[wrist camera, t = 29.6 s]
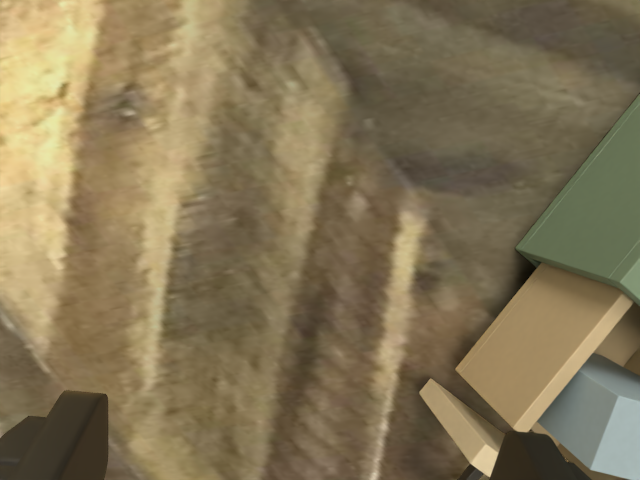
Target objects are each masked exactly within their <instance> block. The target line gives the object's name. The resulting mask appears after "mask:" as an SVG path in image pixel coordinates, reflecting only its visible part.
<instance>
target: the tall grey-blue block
mask: <svg viewBox="0 0 640 480" xmlns="http://www.w3.org/2000/svg"><path fill="white" fill-rule="evenodd" d="M537 422H538V423H539V424H540V425H541V426H542V427H543V428H544V429H546V430H547V431H548V432H549V433H550V434H551V435H552V436H553V437H554V438H555V439H557V440H558V441H559V442H560V443H561V444H562V445H563V446H564V447H565V448H567V449H568V450H569V451H570V452H571V453H572V454H573V455H574V456H575V457H577V458H578V459H579V460H580V461H581V462H582V463H583V464H584V465H585V466H587V467H588V468H589V469H590V470H593V471H597V472H601V473H605V474H609V475H613V476H617V477H621V478H625V479H629V480H640V376H639V375H637V374H635V373H633V372H631V371H630V370H628V369H626V368H624V367H622V366H620V365H619V364H617V363H615V362H613V361H611V360H609V359H608V358H606V357H604V356H602V355H598V354H595V353H592V354H591V356H590V357H589V358H588V359H587V361H586V362H585V363H584V364H583V365H582V367H581V368H580V369H579V370H578V371H577V373H576V374H575V375H574V376H573V378H572V379H571V380H570V381H569V382H568V384H567V385H566V386H565V387H564V389H563V390H562V391H561V392H560V393H559V395H558V396H557V397H556V398H555V400H554V401H553V402H552V403H551V404H550V406H549V407H548V408H547V409H546V410H545V412H544V413H543V414H542V415H541V417H540V418H539V419H538V420H537Z"/></svg>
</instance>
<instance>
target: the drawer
mask: <svg viewBox="0 0 640 480" xmlns="http://www.w3.org/2000/svg"><path fill="white" fill-rule="evenodd" d="M592 353H595V354H598V355H602V356H604V357H606V358H608V359H609V360H611V361H613V362H615V363H617V364H619V365H620V366H622V367H624V368H626V369H628V370H630V371H631V372H633V373H635V374H637V375H639V376H640V306H639V305H637V304H636V303H635V302H634V301H633V300H632V299H631V298H630V297H628V296H627V295H626V294H625V293H624V292H623V291H622V290H620V289H619V288H616V287H613V286H610V285H607V284H604V283H601V282H598V281H596V280H593V279H590V278H587V277H584V276H581V275H578V274H575V273H572V272H569V271H566V270H563V269H560V268H557V267H554V266H551V265H548V264H546V263H543V262H541V264H540V265H539V266H538V267H537V269H536V270H535V271H534V272H533V274H532V275H531V276H530V277H529V278H528V280H527V281H526V282H525V283H524V285H523V286H522V287H521V288H520V290H519V291H518V292H517V293H516V295H515V296H514V297H513V298H512V299H511V301H510V302H509V303H508V304H507V306H506V307H505V308H504V309H503V311H502V312H501V313H500V314H499V315H498V317H497V318H496V319H495V320H494V322H493V323H492V324H491V325H490V327H489V328H488V329H487V330H486V332H485V333H484V334H483V335H482V336H481V338H480V339H479V340H478V341H477V343H476V344H475V345H474V346H473V348H472V349H471V350H470V351H469V352H468V354H467V355H466V356H465V357H464V359H463V360H462V361H461V362H460V364H459V365H458V366H457V367H456V369H455V370H456V372H457V373H458V374H459V375H460V376H461V377H462V378H463V379H464V380H465V381H466V382H467V383H468V384H469V385H470V386H471V387H472V388H473V389H474V390H475V391H476V392H477V393H478V394H479V395H480V396H481V397H482V398H483V399H484V400H485V401H486V402H487V403H488V404H489V405H490V406H491V407H492V408H493V409H494V410H495V411H496V412H497V413H498V414H499V415H500V416H501V417H502V418H503V419H504V420H505V421H506V422H507V423H508V424H509V425H510V426H511V427H512V428H513V429H514V430H515V431H518V432H528V431H529V430H530V429H531V430H532V431H533V432H535V433H540V434H547V435H548V436H550V437H551V438H552V440H553V441H554V443H555V444H556V446H557V448H558V449H559V451H560V453H561V454H562V455H563V456H564V457H565V458H566V459H567V460H568V461H569V462H570V463H574V464H575V465H577V466H578V467H579V468H580V469H581V470H582V471H583V472H584V473H585V474H586V475H587V476H588V477H589V478H591V479H592V480H629V479H625V478H621V477H617V476H613V475H609V474H605V473H601V472H597V471H593V470H590V469H589V468H588V467H587V466H585V465H584V464H583V463H582V462H581V461H580V460H579V459H578V458H577V457H575V456H574V455H573V454H572V453H571V452H570V451H569V450H568V449H567V448H565V447H564V446H563V445H562V444H561V443H560V442H559V441H558V440H557V439H555V438H554V437H553V436H552V435H551V434H550V433H549V432H548V431H547V430H546V429H544V428H543V427H542V426H541V425H540V424H539V423H538V422H537V420H538V419H539V418H540V417H541V415H542V414H543V413H544V412H545V410H546V409H547V408H548V407H549V406H550V404H551V403H552V402H553V401H554V400H555V398H556V397H557V396H558V395H559V393H560V392H561V391H562V390H563V389H564V387H565V386H566V385H567V384H568V382H569V381H570V380H571V379H572V378H573V376H574V375H575V374H576V373H577V371H578V370H579V369H580V368H581V367H582V365H583V364H584V363H585V362H586V361H587V359H588V358H589V357H590V356H591V354H592ZM419 394H420V396H421V397H422V398H423V400H424V401H425V403H426V404H427V405H428V407H429V408H430V409H431V411H432V412H433V413H434V415H435V416H436V418H437V419H438V420H439V422H440V423H441V424H442V426H443V427H444V428H445V430H446V431H447V433H448V434H449V435H450V437H451V438H452V439H453V441H454V442H455V444H456V445H457V446H458V448H459V449H460V450H461V452H462V453H463V454H464V456H465V457H466V459H467V460H468V461H469V463H470V465H469V466H468V467H467V468H466V470H465V471H464V472H463V473H462V475H461V476H460V477H459V478H458V479H457V480H479V479H480V477H481V476H482V475H483V474H485V475H486V476H488V477H489V478H490V476H491V473H492V470H493V467H494V464H495V462H496V459H497V456H498V453H499V450H500V447H501V444H502V442H503V439H504V436H505V434H504V433H503V432H501V431H500V430H499V429H497V428H496V427H495V426H493V425H492V424H491V423H489V422H488V421H487V420H485V419H484V418H483V417H481V416H480V415H479V414H478V413H476V412H475V411H474V410H472V409H471V408H470V407H468V406H467V405H466V404H464V403H463V402H462V401H460V400H459V399H458V398H456V397H455V396H454V395H452V394H451V393H450V392H449V391H447V390H446V389H445V388H443V387H442V386H441V385H439V384H438V383H437V382H435V381H434V380H433V379H429V381H428V382H427V383H426V384H425V386H424V387H423V388H422V389H421V391H420V392H419Z"/></svg>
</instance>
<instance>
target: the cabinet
mask: <svg viewBox="0 0 640 480" xmlns="http://www.w3.org/2000/svg"><path fill="white" fill-rule="evenodd" d="M515 249H516V250H517V251H518V252H519V253H520V254H521V255H523V256H524V257H525V258H526V259H527V260H528V261H530V262H531V263H532V264H533V265H534V266H535V267H538V266H539V265H540V264H541V262H543V263H546V264H548V265H551V266H554V267H557V268H560V269H563V270H566V271H569V272H572V273H575V274H578V275H581V276H584V277H587V278H590V279H593V280H596V281H598V282H601V283H604V284H607V285H610V286H613V287H616V288H619V289H620V290H622V291H623V292H624V293H625V294H626V295H627V296H628V297H630V298H631V299H632V300H633V301H634V302H635V303H636V304H637V305H639V306H640V94H639V95H638V96H637V98H636V99H635V100H634V101H633V103H632V104H631V105H630V106H629V108H628V109H627V110H626V111H625V113H624V114H623V115H622V116H621V118H620V119H619V120H618V121H617V122H616V124H615V125H614V126H613V127H612V129H611V130H610V131H609V132H608V134H607V135H606V136H605V137H604V139H603V140H602V141H601V142H600V144H599V145H598V146H597V147H596V148H595V150H594V151H593V152H592V153H591V155H590V156H589V157H588V158H587V160H586V161H585V162H584V163H583V165H582V166H581V167H580V168H579V169H578V171H577V172H576V173H575V174H574V176H573V177H572V178H571V179H570V181H569V182H568V183H567V184H566V186H565V187H564V188H563V189H562V191H561V192H560V193H559V194H558V195H557V197H556V198H555V199H554V200H553V202H552V203H551V204H550V205H549V207H548V208H547V209H546V210H545V212H544V213H543V214H542V215H541V217H540V218H539V219H538V220H537V221H536V223H535V224H534V225H533V226H532V228H531V229H530V230H529V231H528V233H527V234H526V235H525V236H524V238H523V239H522V240H521V241H520V243H519V244H518V245H517V246H516V247H515Z"/></svg>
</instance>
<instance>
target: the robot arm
mask: <svg viewBox="0 0 640 480" xmlns="http://www.w3.org/2000/svg"><path fill="white" fill-rule="evenodd" d="M107 462H108V397H107V395H106V394H103V393H91V392H80V391H69V390H66V391H64V392H63V393H62V394H61V395H60V397H59V398H58V400H57V401H56V403H55V405H54V406H53V408H52V409H51V411H50V413H49V414H48V416H47V417H35V416H28V417H27V418H25V419H24V420H23V421H21V422H20V423H19V424H17V425H16V426H15V427H13V428H12V429H11V430H9V431H8V432H6V433H5V434H4V435H3V436H2V437H1V438H0V480H104V478H105V473H106V469H107ZM489 480H592V479H591V478H589V477H588V476H587V475H586V474H585V473H584V472H583V471H582V470H581V469H580V468H579V467H578V466H577V465H575V464H574V463H569V462H566V461H565V459H564V457H563V456H562V454H561V453H560V451H559V449H558V448H557V446H556V444H555V443H554V441H553V440H552V438H551V437H550V436H548V435H547V434H540V433H529V432H518V431H509V432H508V433H507V434H506V435H505V436H504V439H503V442H502V444H501V447H500V450H499V453H498V456H497V459H496V462H495V464H494V467H493V470H492V473H491V476H490V479H489Z"/></svg>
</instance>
